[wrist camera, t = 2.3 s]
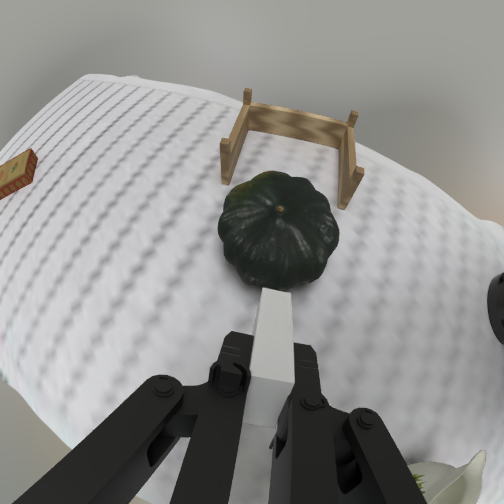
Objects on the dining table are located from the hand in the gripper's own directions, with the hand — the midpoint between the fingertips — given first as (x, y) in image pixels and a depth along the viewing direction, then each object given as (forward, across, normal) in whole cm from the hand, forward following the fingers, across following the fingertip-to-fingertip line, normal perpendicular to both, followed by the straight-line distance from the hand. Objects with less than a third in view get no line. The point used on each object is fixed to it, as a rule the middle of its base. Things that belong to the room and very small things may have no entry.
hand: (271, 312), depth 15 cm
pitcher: (+1, +26, -29) cm, 38 cm away
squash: (+25, 0, -5) cm, 25 cm away
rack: (+37, 0, +8) cm, 38 cm away
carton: (+28, -60, -2) cm, 67 cm away
